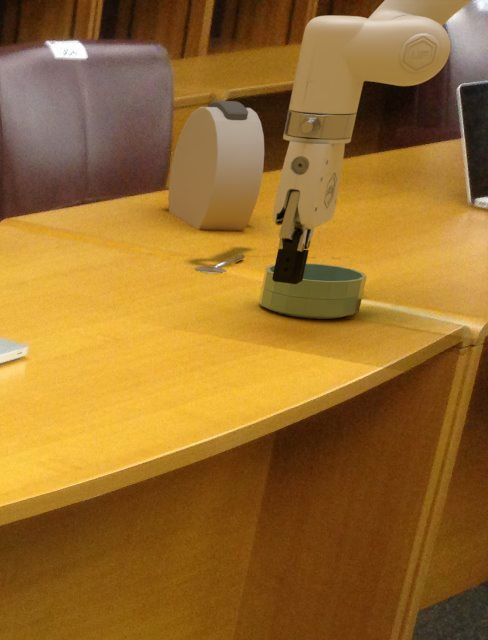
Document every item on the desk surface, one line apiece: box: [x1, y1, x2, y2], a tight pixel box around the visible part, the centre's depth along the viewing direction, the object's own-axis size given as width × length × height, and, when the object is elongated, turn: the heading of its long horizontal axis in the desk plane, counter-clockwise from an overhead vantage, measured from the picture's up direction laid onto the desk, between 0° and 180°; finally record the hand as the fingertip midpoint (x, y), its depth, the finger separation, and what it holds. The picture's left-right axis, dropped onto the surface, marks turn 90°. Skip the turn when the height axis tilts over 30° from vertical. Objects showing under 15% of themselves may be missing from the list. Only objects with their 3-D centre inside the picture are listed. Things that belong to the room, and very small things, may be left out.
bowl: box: [258, 262, 367, 320], centre depth 201 cm, size 12×12×5 cm
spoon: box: [193, 253, 245, 274], centre depth 226 cm, size 16×4×1 cm, turn 141°
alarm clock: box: [167, 100, 265, 232], centre depth 252 cm, size 21×8×20 cm, turn 179°
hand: (286, 281), depth 191 cm, fingers closed
